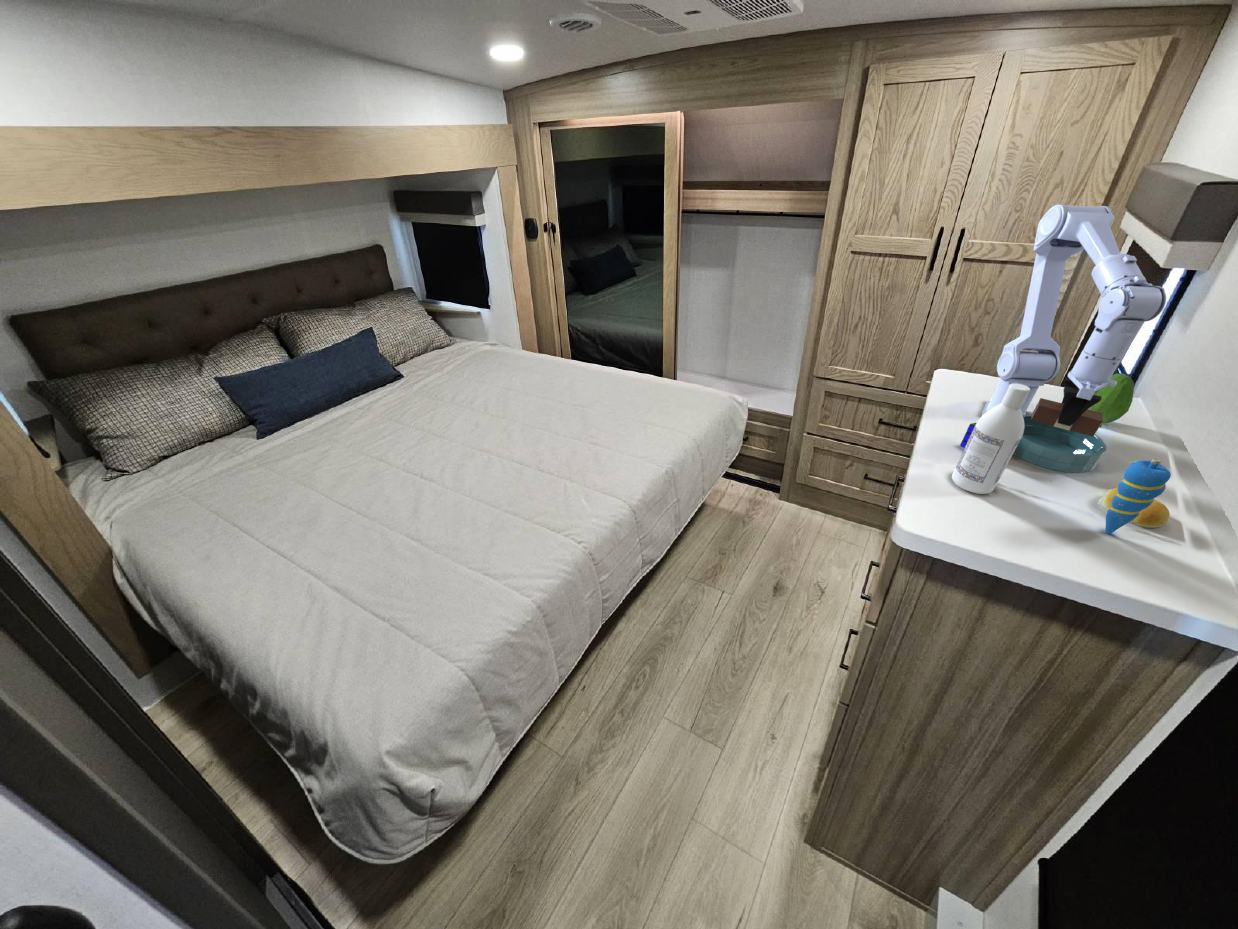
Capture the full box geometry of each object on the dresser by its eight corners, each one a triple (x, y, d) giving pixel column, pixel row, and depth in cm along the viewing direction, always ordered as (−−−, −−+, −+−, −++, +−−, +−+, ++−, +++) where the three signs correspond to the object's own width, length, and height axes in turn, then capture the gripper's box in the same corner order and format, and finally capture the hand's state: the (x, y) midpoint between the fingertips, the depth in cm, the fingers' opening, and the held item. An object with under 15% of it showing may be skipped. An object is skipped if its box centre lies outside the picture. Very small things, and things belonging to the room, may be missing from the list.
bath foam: (979, 473, 99) (1027, 378, 88) (1001, 495, 93) (1055, 396, 82) (943, 473, 99) (987, 377, 88) (963, 494, 93) (1012, 395, 82)
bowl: (1004, 425, 116) (1013, 407, 113) (1094, 450, 107) (1106, 431, 105) (994, 454, 105) (1004, 436, 103) (1093, 485, 97) (1106, 465, 94)
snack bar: (1030, 420, 103) (1038, 405, 101) (1032, 412, 105) (1040, 397, 104) (1093, 436, 98) (1103, 421, 96) (1093, 428, 100) (1103, 413, 98)
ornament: (1114, 546, 83) (1172, 469, 74) (1080, 526, 87) (1131, 452, 78) (1132, 538, 84) (1191, 462, 76) (1098, 519, 88) (1150, 445, 80)
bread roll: (1158, 537, 85) (1174, 518, 83) (1092, 510, 90) (1105, 492, 88) (1167, 516, 89) (1181, 498, 87) (1103, 492, 95) (1115, 475, 93)
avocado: (1097, 432, 114) (1128, 382, 107) (1065, 415, 120) (1092, 367, 114) (1125, 428, 116) (1157, 379, 109) (1091, 412, 122) (1120, 365, 115)
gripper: (1132, 372, 86) (1089, 440, 94) (1129, 348, 96) (1090, 412, 104) (1080, 361, 90) (1043, 428, 98) (1082, 339, 100) (1048, 402, 107)
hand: (1064, 419), depth 101 cm, fingers closed on snack bar, 4 cm apart
